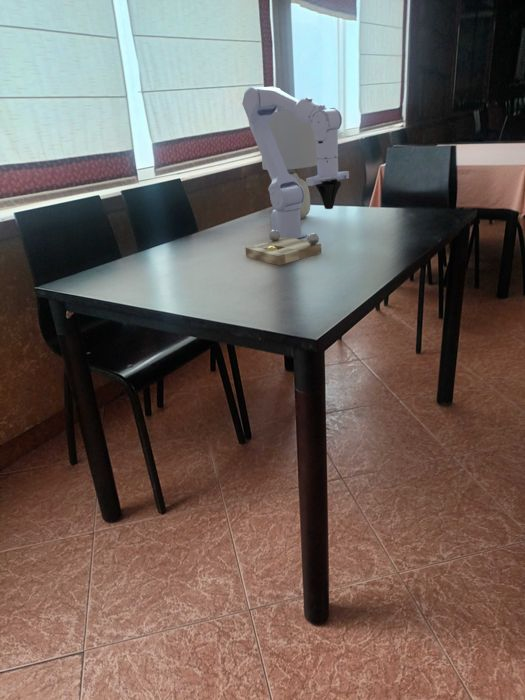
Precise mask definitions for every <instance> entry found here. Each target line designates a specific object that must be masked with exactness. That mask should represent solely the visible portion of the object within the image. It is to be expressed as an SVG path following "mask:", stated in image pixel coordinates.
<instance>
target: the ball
mask: <svg viewBox="0 0 525 700" xmlns="http://www.w3.org/2000/svg"><path fill="white" fill-rule="evenodd" d="M267 250H270V251H275V250H277V248H276V247H275V246H269V247H268V248H267Z"/></svg>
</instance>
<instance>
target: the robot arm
mask: <svg viewBox="0 0 525 700" xmlns="http://www.w3.org/2000/svg"><path fill="white" fill-rule="evenodd" d="M241 105H242V106H243V110H244V112H245V114H246V117H247V119H248V125H249V128H250V131H251V133H252V136H253V140H254V141H255V142H256V146H257V148H258V150H259V152H260V156H261V159H262V158H263V160H264V163H265V165H266V168H267V172H268V175H269V177H270V179H271V183H269V186H268V189H267V190H268V193H269V197H270V199H269V200H270V204H271V205H272V207H273V208H274V209H273V210H272V211H271V215H270V223H271V224H270V225H271V231H272V230H278V231H279V232H280V238H284V237H290V238H295V239H301V238H304V237H308V234H306V233H302V224H301V223H302V221H301V219H300V207H301V203H302V202H303V201H304V198H305V193H304V190H303V188H302V186H301V185H300V184H299V183H298V181H297V179H296V178H295V177H293V176H292V175H290V174H289V173H288V169H287V168H286V166H285V164H284V161H283V159H282V156H281V154H280V151H279V149H278V146H277V144H276V142H275V139H274V137H273V134H272V132H271V129H270V127H269V122H270V120H272V118H273V116H274V114H275V112H277V109H278V107H279V108H281V109H283V110H284V111H286V110H288V111H290V112H293V113H294V116H295V118H296V119H297V120H298V121H300V122H302V123H304V124H306V125H308V126H310V127H312V130H313V131H314V134H315V139H316V145H317V165H316V169H317V170H316V171H317V175H314V176H310V177H307V178H305V182H306V186H308V187H309V186H310V187H313V186H315V187H316V189H317V191H318V192H319V194H320V197H321V200H322V203H323V207H324V209H325V210H332V209H334V205H335V200H336V197H337V194H338V191H339V189H340V187H341V185H342V183H341V182H342V181H340V180H347V179H350V171H347V170H346V171H345V170H343V171H339V145H338V144H339V143H338V141H339V140H338V136H339V135H338V130H339V129H340V128H341V126H342V123H343V118H342V114H341V112H340V111H339V110H338V109H336V108H335V107H331V108H326V105H325V104H319V103H317V102H314V101H313V98H312V97H305V98H301V99H297V98H295V97H294V96H293V95H290V94H288V93H287V92H284V91H283V90H281V88H280V87H275V86H273V85H271V86H263V87H261V86H260V87H259V86H258V87H257V86H256V87H253V86H250V87H248V88H246V89H245V90H244V94H243V98H242V104H241ZM280 238H279V239H280Z"/></svg>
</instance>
